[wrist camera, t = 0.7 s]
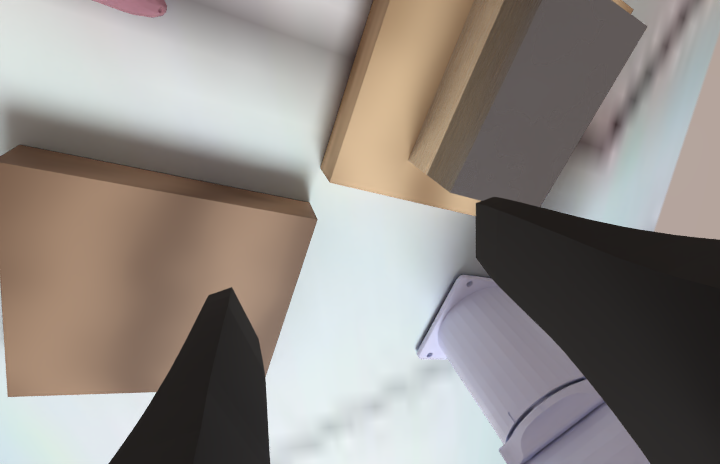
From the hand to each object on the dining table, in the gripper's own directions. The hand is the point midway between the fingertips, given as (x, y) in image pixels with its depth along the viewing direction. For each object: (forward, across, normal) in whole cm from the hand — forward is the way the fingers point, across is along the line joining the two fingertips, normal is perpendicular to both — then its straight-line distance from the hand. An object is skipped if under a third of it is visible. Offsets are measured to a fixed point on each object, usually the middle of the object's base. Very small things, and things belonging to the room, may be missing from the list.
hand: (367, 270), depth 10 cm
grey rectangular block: (+8, -9, -1) cm, 12 cm away
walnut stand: (+10, +9, +4) cm, 14 cm away
